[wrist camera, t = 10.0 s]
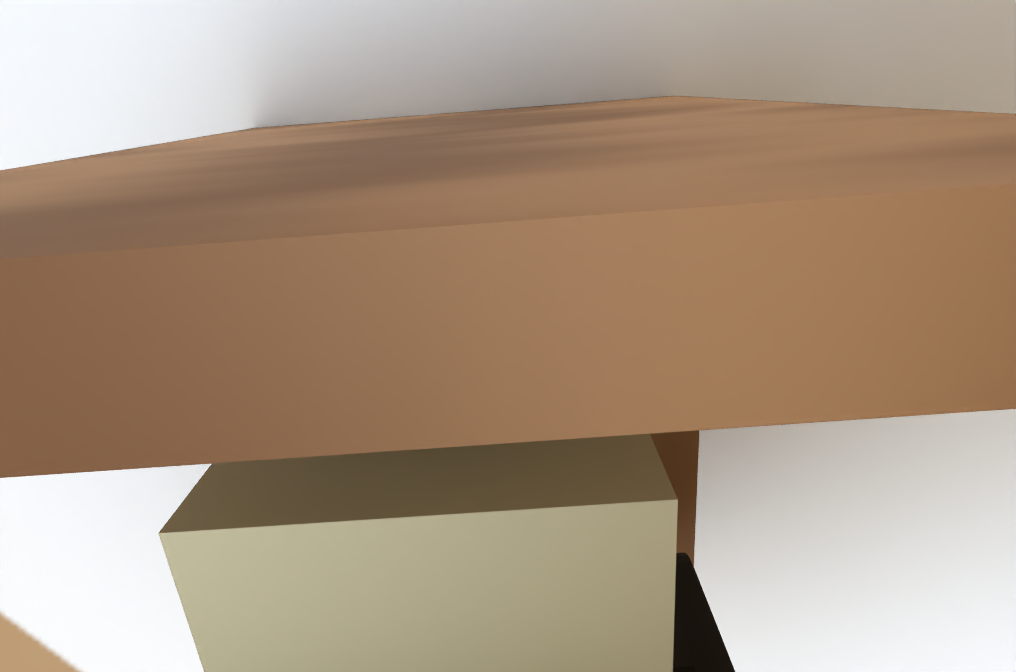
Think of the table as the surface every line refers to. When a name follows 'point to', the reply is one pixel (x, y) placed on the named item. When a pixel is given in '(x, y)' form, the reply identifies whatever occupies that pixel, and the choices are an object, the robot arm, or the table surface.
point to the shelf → (506, 283)
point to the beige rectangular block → (433, 560)
